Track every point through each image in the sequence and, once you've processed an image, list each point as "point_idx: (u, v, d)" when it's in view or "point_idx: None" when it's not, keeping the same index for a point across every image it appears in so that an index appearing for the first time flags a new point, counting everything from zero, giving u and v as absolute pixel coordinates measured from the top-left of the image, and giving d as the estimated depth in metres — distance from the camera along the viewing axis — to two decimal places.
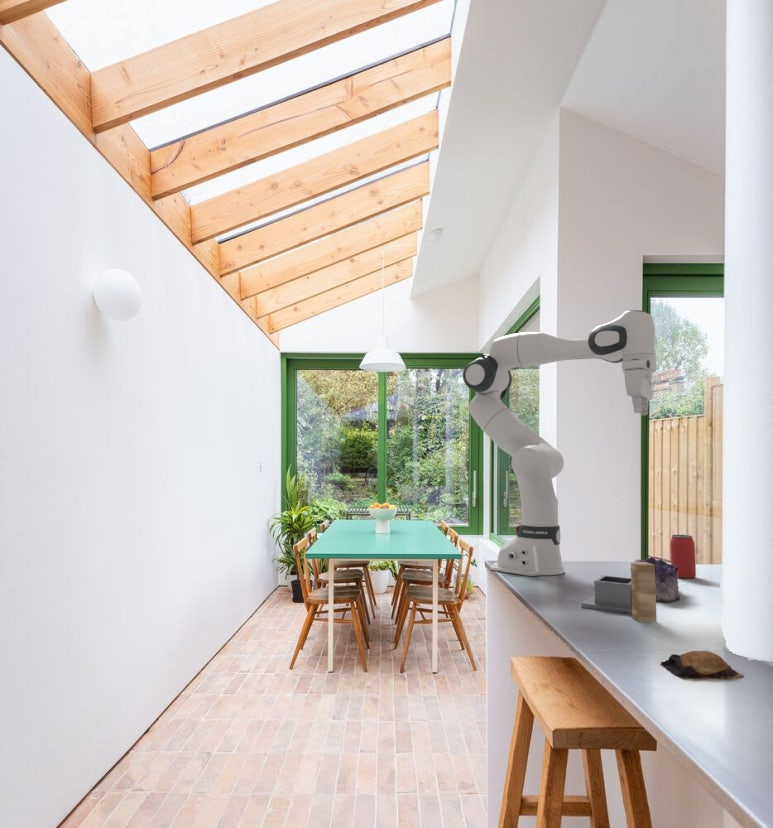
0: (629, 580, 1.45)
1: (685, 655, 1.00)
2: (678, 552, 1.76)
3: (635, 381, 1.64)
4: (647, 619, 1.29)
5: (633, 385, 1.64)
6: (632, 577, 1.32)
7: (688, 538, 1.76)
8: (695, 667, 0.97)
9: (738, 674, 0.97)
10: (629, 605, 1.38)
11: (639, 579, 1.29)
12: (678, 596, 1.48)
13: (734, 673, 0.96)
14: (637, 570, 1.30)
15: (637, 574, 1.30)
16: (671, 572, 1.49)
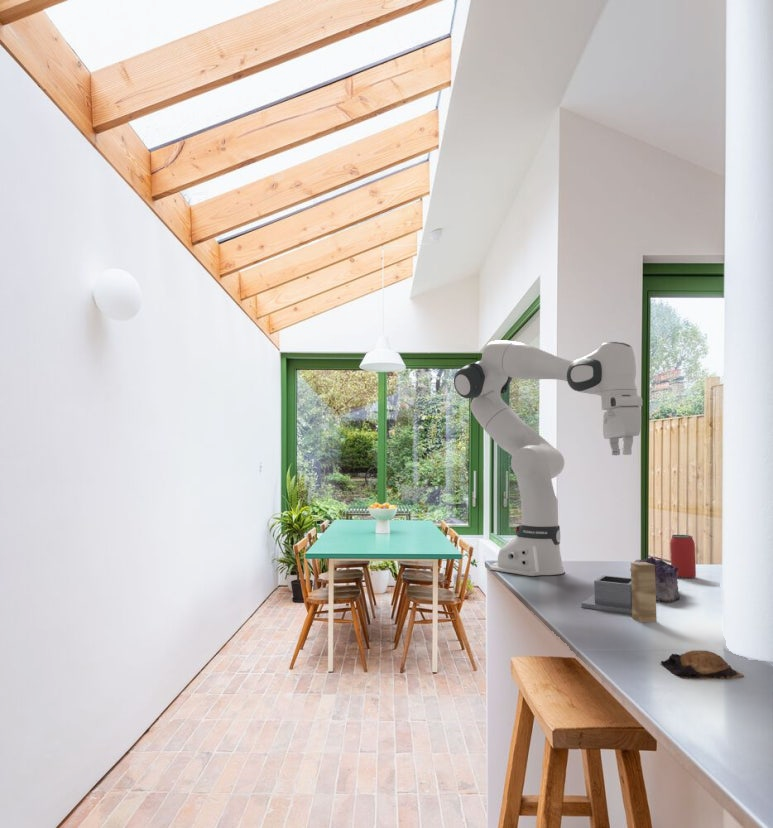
0: (629, 580, 1.45)
1: (685, 655, 1.00)
2: (678, 552, 1.76)
3: (634, 420, 1.48)
4: (647, 619, 1.29)
5: (633, 425, 1.48)
6: (632, 577, 1.32)
7: (688, 538, 1.76)
8: (694, 667, 0.97)
9: (738, 674, 0.97)
10: (629, 605, 1.38)
11: (639, 579, 1.29)
12: (678, 596, 1.48)
13: (734, 673, 0.96)
14: (637, 570, 1.30)
15: (637, 574, 1.30)
16: (671, 572, 1.49)
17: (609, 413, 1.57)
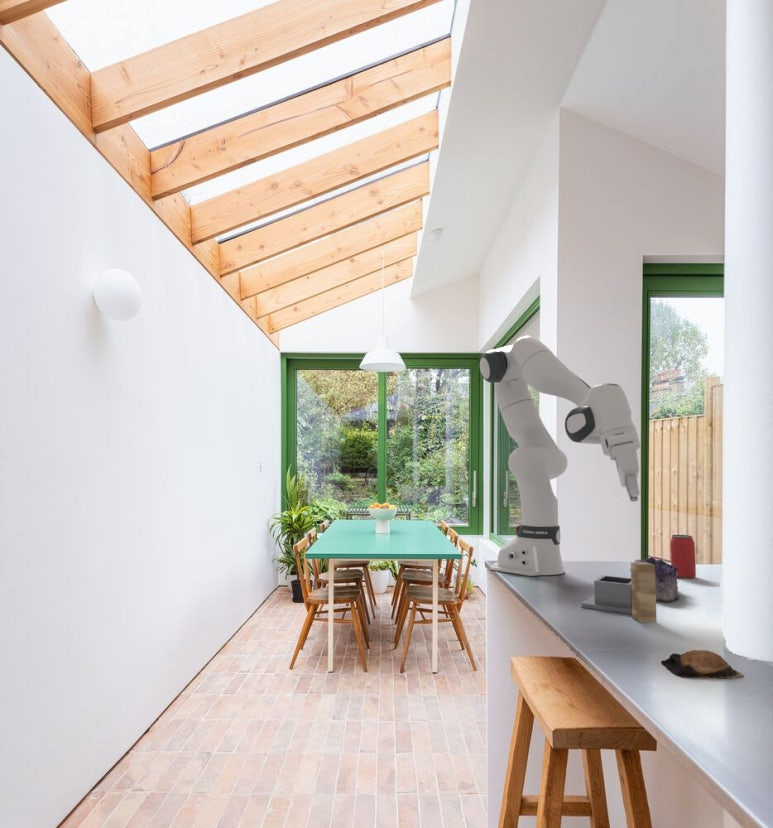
0: (629, 580, 1.45)
1: (685, 654, 1.00)
2: (678, 552, 1.76)
3: (629, 456, 1.39)
4: (647, 619, 1.29)
5: (628, 461, 1.38)
6: (632, 577, 1.32)
7: (688, 538, 1.76)
8: (694, 666, 0.97)
9: (738, 674, 0.97)
10: (629, 605, 1.38)
11: (639, 579, 1.29)
12: (677, 596, 1.48)
13: (734, 673, 0.96)
14: (637, 570, 1.30)
15: (637, 574, 1.30)
16: (670, 572, 1.49)
17: (611, 457, 1.48)
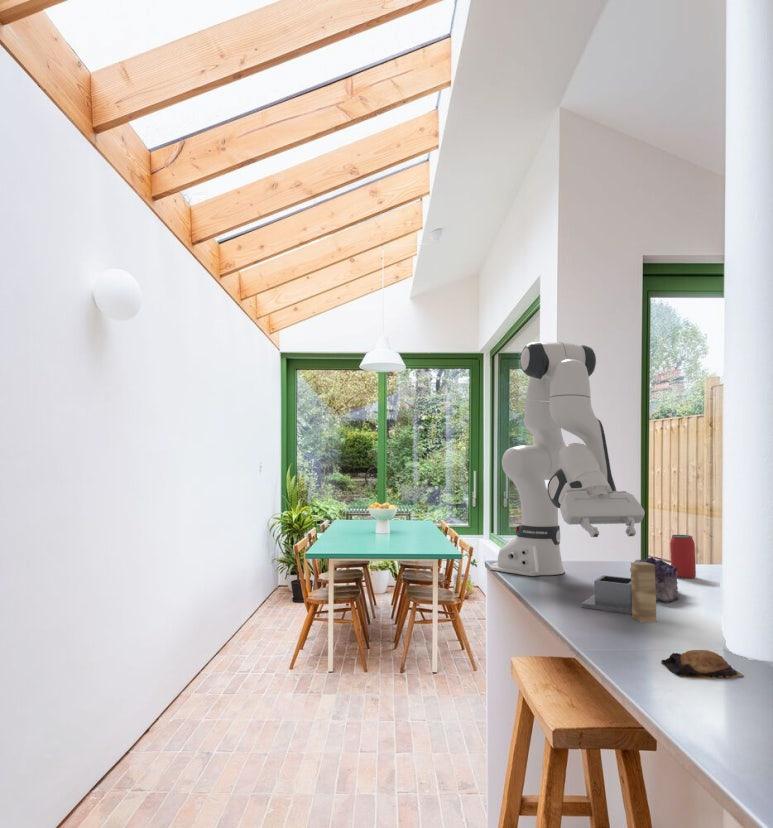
0: (629, 580, 1.45)
1: (685, 654, 1.00)
2: (678, 552, 1.76)
3: (564, 507, 1.48)
4: (647, 619, 1.29)
5: (564, 512, 1.48)
6: (632, 577, 1.32)
7: (688, 538, 1.76)
8: (693, 666, 0.97)
9: (738, 674, 0.97)
10: (629, 605, 1.38)
11: (639, 579, 1.29)
12: (677, 596, 1.48)
13: (733, 673, 0.96)
14: (637, 569, 1.30)
15: (637, 574, 1.30)
16: (670, 572, 1.49)
17: None
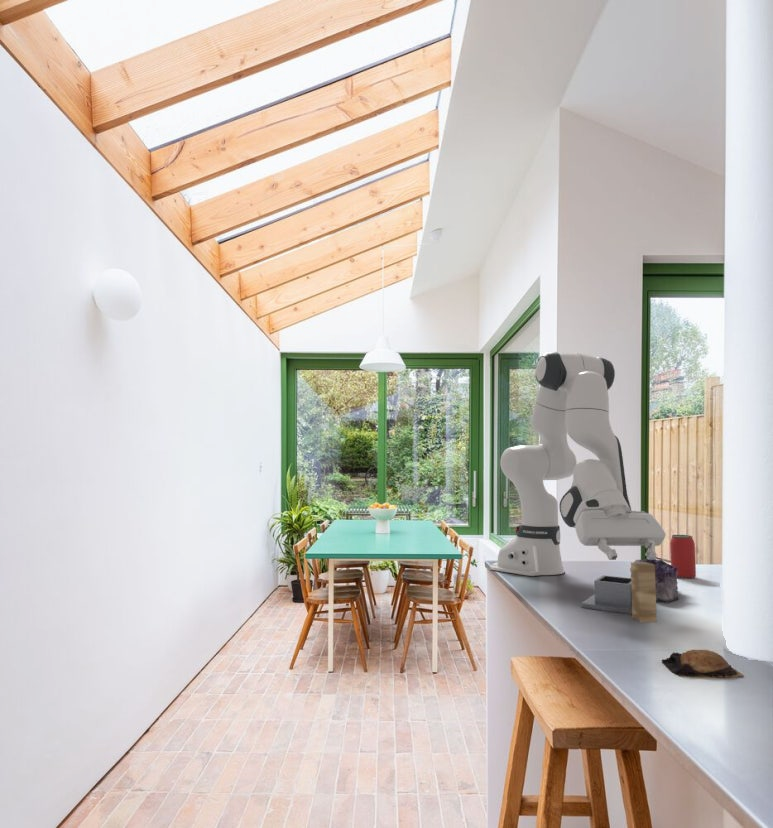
0: (629, 580, 1.45)
1: (685, 653, 1.01)
2: (678, 552, 1.76)
3: (580, 527, 1.39)
4: (647, 619, 1.29)
5: (580, 532, 1.39)
6: (632, 577, 1.32)
7: (688, 538, 1.76)
8: (692, 665, 0.97)
9: (738, 674, 0.97)
10: (629, 605, 1.38)
11: (639, 579, 1.29)
12: (677, 596, 1.48)
13: (733, 672, 0.96)
14: (637, 570, 1.30)
15: (637, 574, 1.30)
16: (670, 572, 1.49)
17: None
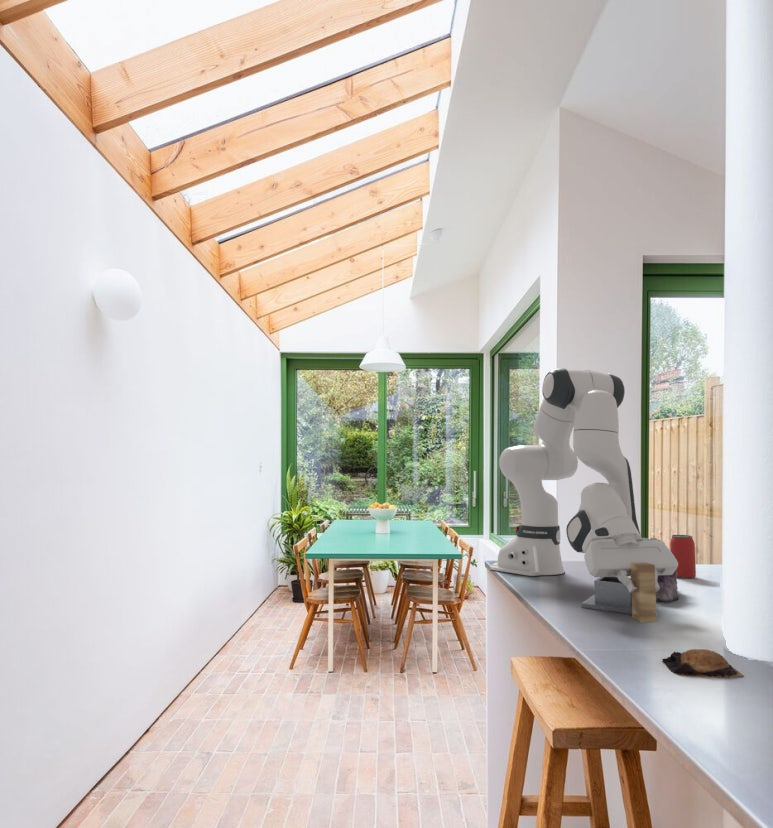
0: None
1: (685, 653, 1.01)
2: (678, 552, 1.76)
3: (589, 558, 1.35)
4: (647, 619, 1.29)
5: (589, 563, 1.34)
6: (632, 577, 1.32)
7: (688, 538, 1.76)
8: (692, 665, 0.98)
9: (738, 674, 0.97)
10: (629, 605, 1.38)
11: (639, 579, 1.29)
12: (676, 596, 1.48)
13: (733, 672, 0.97)
14: (637, 570, 1.30)
15: (637, 574, 1.30)
16: None
17: None
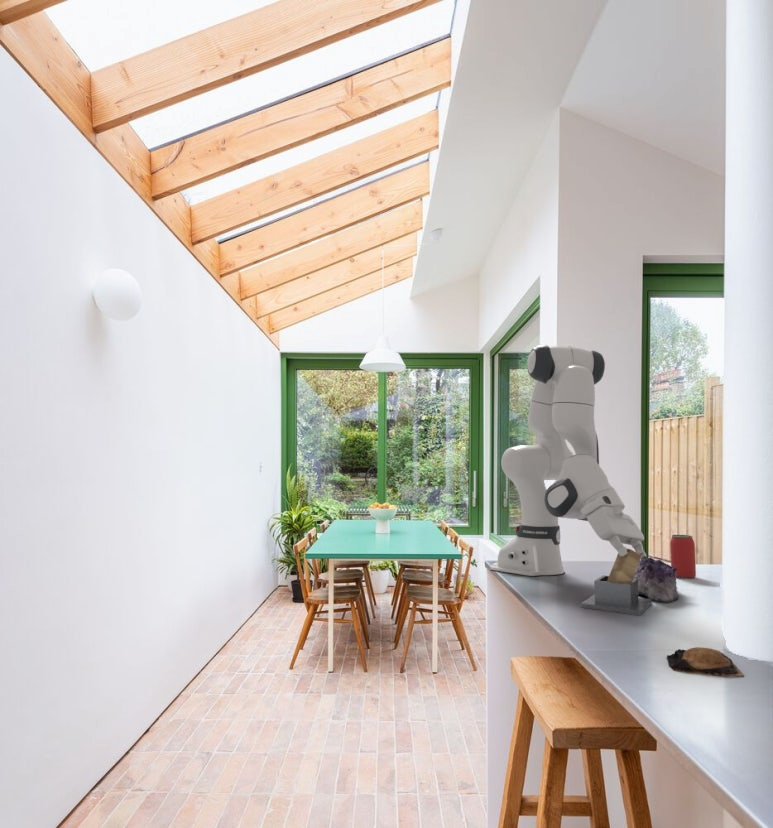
0: None
1: (687, 650, 1.02)
2: (678, 552, 1.76)
3: (601, 521, 1.44)
4: None
5: (601, 526, 1.43)
6: (617, 559, 1.45)
7: (688, 538, 1.76)
8: (690, 661, 0.99)
9: (738, 673, 0.97)
10: (629, 605, 1.38)
11: (625, 560, 1.43)
12: (676, 596, 1.48)
13: (732, 672, 0.97)
14: None
15: None
16: (669, 572, 1.49)
17: None
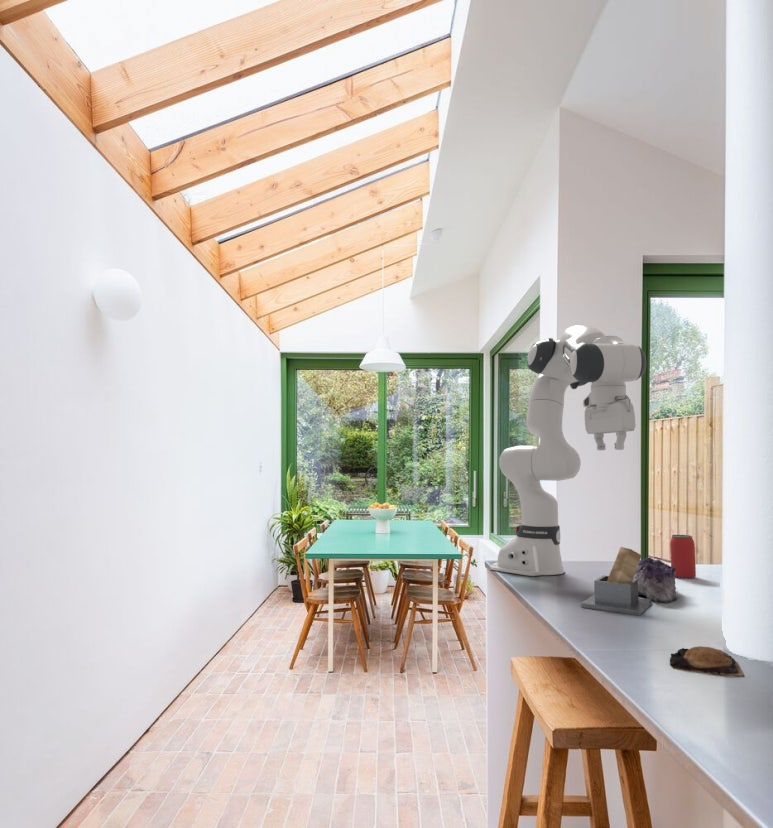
0: None
1: (689, 649, 1.03)
2: (678, 552, 1.76)
3: None
4: None
5: None
6: (617, 559, 1.45)
7: (688, 538, 1.76)
8: (689, 660, 1.00)
9: (738, 673, 0.97)
10: (629, 605, 1.38)
11: (625, 560, 1.43)
12: (675, 596, 1.48)
13: (732, 671, 0.97)
14: (626, 553, 1.44)
15: (624, 556, 1.44)
16: (668, 572, 1.48)
17: None
